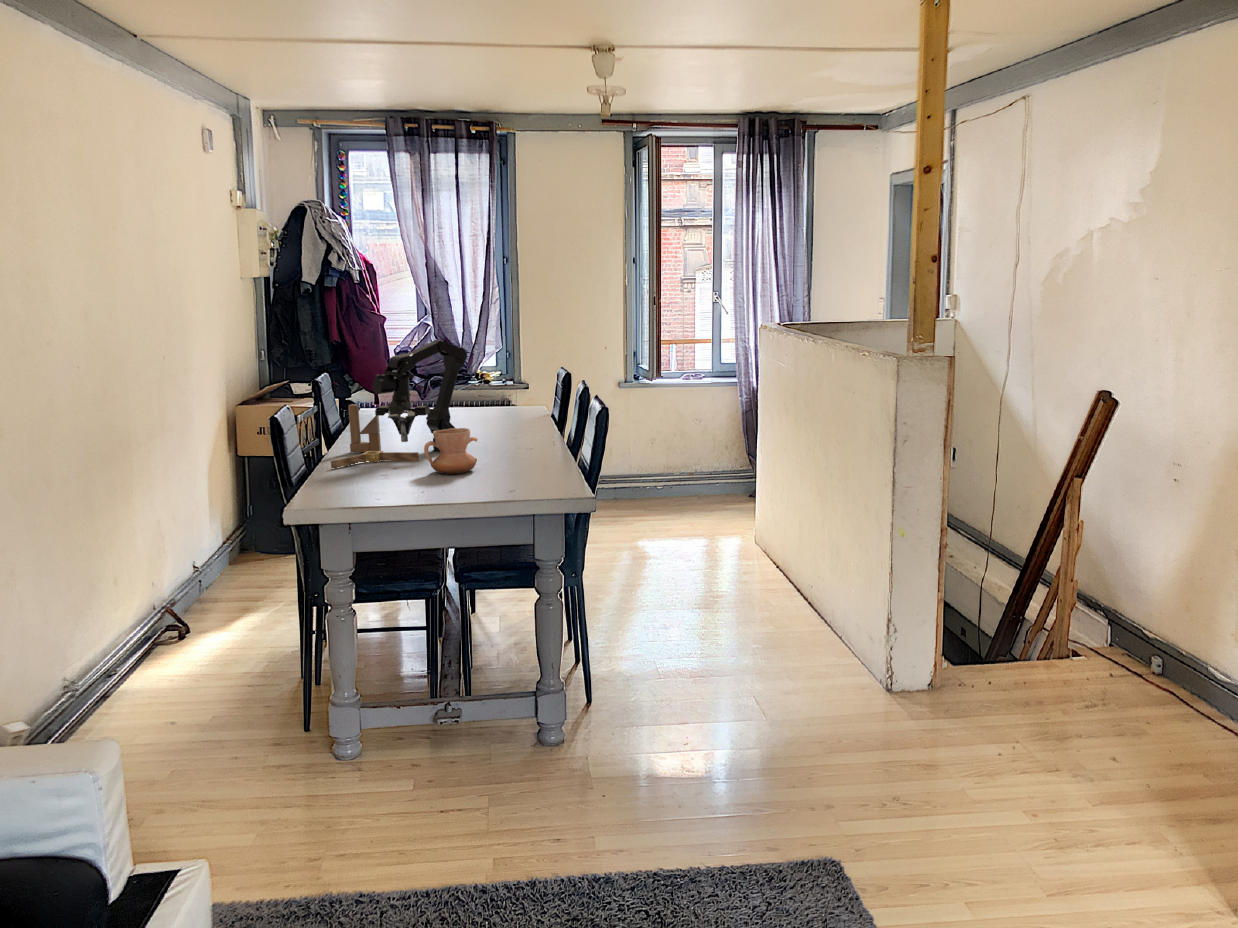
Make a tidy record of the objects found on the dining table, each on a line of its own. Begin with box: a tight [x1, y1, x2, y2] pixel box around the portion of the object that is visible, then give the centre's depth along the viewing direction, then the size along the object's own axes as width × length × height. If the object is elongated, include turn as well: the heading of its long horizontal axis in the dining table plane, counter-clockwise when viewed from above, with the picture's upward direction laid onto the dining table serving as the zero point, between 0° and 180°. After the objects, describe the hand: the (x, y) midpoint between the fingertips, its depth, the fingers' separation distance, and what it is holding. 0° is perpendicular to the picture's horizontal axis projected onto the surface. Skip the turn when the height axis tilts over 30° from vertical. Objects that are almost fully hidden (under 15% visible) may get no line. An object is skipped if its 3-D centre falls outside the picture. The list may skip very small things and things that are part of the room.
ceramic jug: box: [423, 427, 479, 475], centre depth 340 cm, size 18×14×14 cm
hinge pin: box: [399, 416, 409, 443], centre depth 368 cm, size 3×3×9 cm
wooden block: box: [347, 403, 382, 453], centre depth 381 cm, size 4×11×18 cm, turn 92°
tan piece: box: [330, 450, 420, 468], centre depth 358 cm, size 26×18×3 cm
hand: (404, 434), depth 368 cm, fingers closed on hinge pin, 2 cm apart
